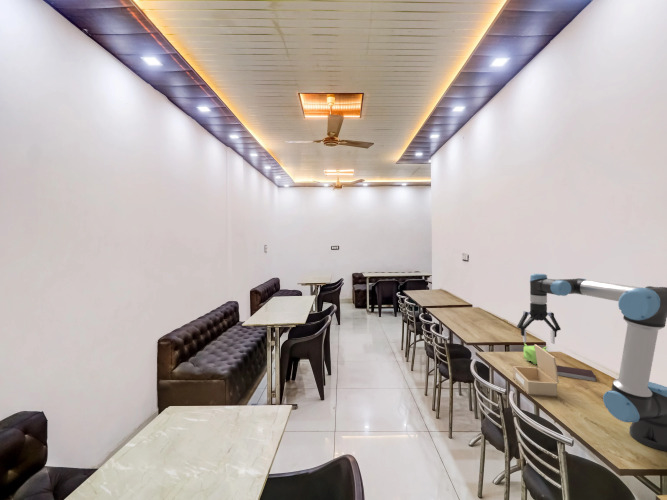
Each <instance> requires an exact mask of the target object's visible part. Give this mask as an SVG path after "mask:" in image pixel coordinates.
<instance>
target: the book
mask: <svg viewBox="0 0 667 500" xmlns="http://www.w3.org/2000/svg"><path fill="white" fill-rule="evenodd" d="M556 367H557V373H558V377H559V376H560V377H565V378H572V379H580V380H585V381H586V380H587V381H592V382H597V380H596V378H597V377H596V375H595V373H594V371H593V370H591V369H584V368H577V367H570V366H563V365H559V364H558V365H557V364H556Z"/></svg>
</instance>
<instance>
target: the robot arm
mask: <svg viewBox="0 0 667 500" xmlns="http://www.w3.org/2000/svg"><path fill="white" fill-rule="evenodd" d="M529 279H530V280H529V285H530V286H529V291H530V292H529V293H530V295H529V296H530V297H529V300H530V303H529V311H526V310H523V314H522V316H521V318H520V320H519V322H518V323H517V326H516V328H517V329H519V330H520V335H521V336H522V342H523V343H527V330H526V329H527V328H528V327H530V325H531V324H532V322H534V321H542V322H543V321H544V322H545V323H546V324H547V326H548V327H550V328H551V329H550V343H551V344H553V345H556V343H555V339H556V338H557V335H558V334H557V332H558V331H561V330H562V329H561V327H560V325H559V323H558V321H557V319H556V317H555V313H554V312H553V311H549V312H548V304H547V302H548V294H549V295H554V296H555V295H556V296H562V297H567V296H568V295H572V294H573V295H575V294H577V295H581V296H587V297H588V296H589V297H592V298H593V297H594V298H599V299H602V300H603V299H605V300H609V301H614V302H618V303H617V305H618V309H619V311H620V312H621V314H622V315H623V317H622V319H623V321H625V322H626V324H627V326H626V331H625V337H624V343H623V348H622V349H623V350H622V354H621V361H620V368H619V373H618V378H617V379H613V381H612V386H611V390H607V391H605V393H604V394H603V396H602V400H603V401H602V402H603V404H604V407H605V408H606V409H607V410H608V412H609V413H610V415H611V416H613V417H614V418H615V419H617V420H618V421H621V422H624V423H631V425H630V426H629V435H630V436H631V438H633V439H634V440H635V441H637V442H638V443H640V444H642V445H645V446H647V447H650V448H653V449H656V450H659V451H663V452H664V451H665V452H667V386H665V385H663V384H658V383H656V382H652V381H650V378H651V371H652V366H653V362H654V355H655V352H656V351H655V350H656V345H657V340H658V333H659V330H662V329H664V328H665V327H666V323H667V286H665V287H664V286H650V285H647V286H645V287H640V286H633V285H632V286H631V285H624V284H619V283H618V284H617V283H610V282H603V281H595V280H589V279H588V280H587V279H586V278H564V279H562V278H561V279H560V278H559V279H552V278H548V275H547V274H544V273H531V275H530V278H529ZM529 315H530V316H529ZM547 317H549V318H550V319H551V322H552V323H553V324H552V323H551V322H550V320H549V319H548V318H547ZM527 318H528V319H527Z"/></svg>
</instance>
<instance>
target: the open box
mask: <svg viewBox="0 0 667 500" xmlns="http://www.w3.org/2000/svg"><path fill="white" fill-rule="evenodd" d="M512 379H513V380H514V379H515V380H516V381H517V382H518V383H519V384H518V383H517V382H516V381H515V380H514V381H515V382H516V383H517V384H518V385H519V386H520V388H521V389H522V390H523V391H524V392H525V393H526V394H527V395H530V396H541V397H542V396H544V397H558V383H557V382H556V381H555V380H553V379H552V378H551V377H550V376H549V375H547V374H546V373H545V372H544V371H543V370H541V369H540V368H539V367H530V366H516V365H515V366H514V365H513V366H512Z"/></svg>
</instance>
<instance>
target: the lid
mask: <svg viewBox="0 0 667 500" xmlns="http://www.w3.org/2000/svg"><path fill="white" fill-rule="evenodd" d="M533 346H535V352H536V359H537V365H536V366H537V368H539V369H540V370H542V371H543V372H544V373H545V374H546V375H547V376H549V377H550V378H551V379H552V380H553V381H555V382H556V383H557V384H559V383H560V380H559V376H558V373H557V367H556V365H557V361H556V357H555V356H554V355H552V354H551V353H549V352H546V351H545V350H543V347H540V346H539V345H537V344H535V343H534V345H533Z"/></svg>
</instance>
